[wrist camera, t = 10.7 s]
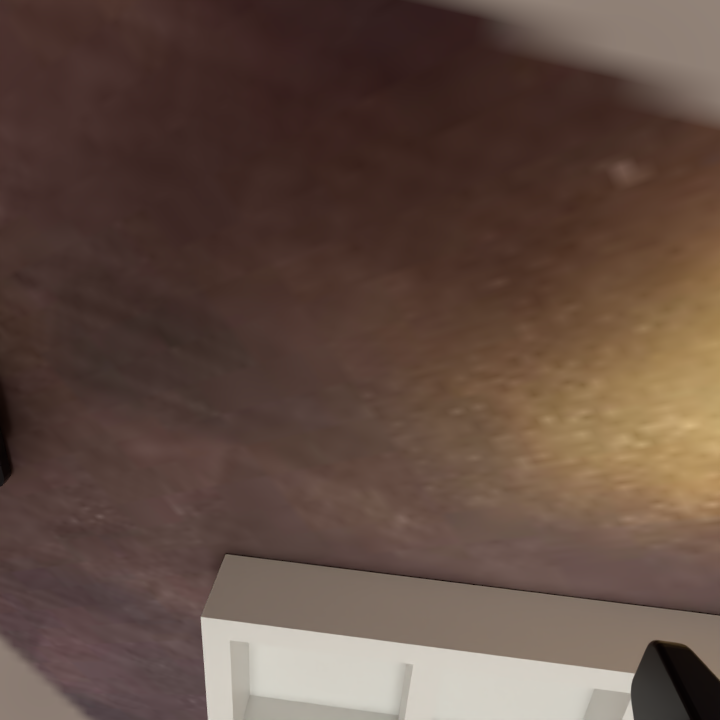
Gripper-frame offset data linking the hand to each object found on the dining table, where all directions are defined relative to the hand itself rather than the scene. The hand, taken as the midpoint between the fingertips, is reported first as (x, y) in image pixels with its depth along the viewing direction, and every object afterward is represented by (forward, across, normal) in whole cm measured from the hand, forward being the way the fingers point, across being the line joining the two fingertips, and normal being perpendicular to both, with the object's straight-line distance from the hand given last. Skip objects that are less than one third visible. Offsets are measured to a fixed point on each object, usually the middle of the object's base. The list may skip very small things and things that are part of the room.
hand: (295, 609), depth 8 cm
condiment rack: (+12, -7, +16) cm, 21 cm away
